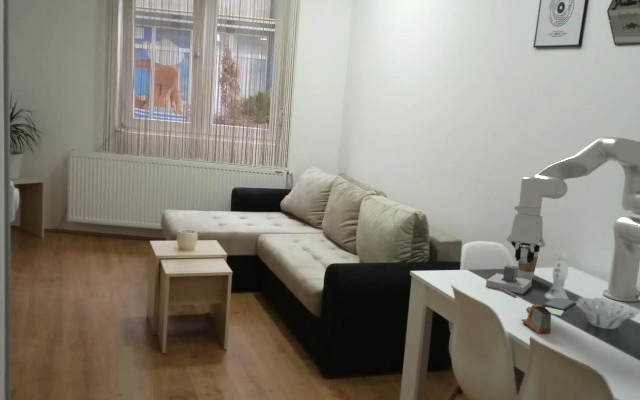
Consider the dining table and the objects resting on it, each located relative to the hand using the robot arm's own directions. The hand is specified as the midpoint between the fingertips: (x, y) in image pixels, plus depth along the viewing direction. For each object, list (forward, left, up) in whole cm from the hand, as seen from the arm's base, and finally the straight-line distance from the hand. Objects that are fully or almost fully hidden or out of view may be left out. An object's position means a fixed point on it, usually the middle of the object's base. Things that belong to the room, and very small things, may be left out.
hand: (523, 260), depth 213 cm
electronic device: (-12, +27, -15) cm, 33 cm away
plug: (0, 0, -1) cm, 1 cm away
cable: (+5, -5, -15) cm, 17 cm away
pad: (-13, +5, -15) cm, 20 cm away
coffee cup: (+6, -34, -15) cm, 38 cm away
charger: (+8, -16, -15) cm, 23 cm away
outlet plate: (+8, -16, -15) cm, 23 cm away
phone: (-13, -6, -15) cm, 21 cm away
